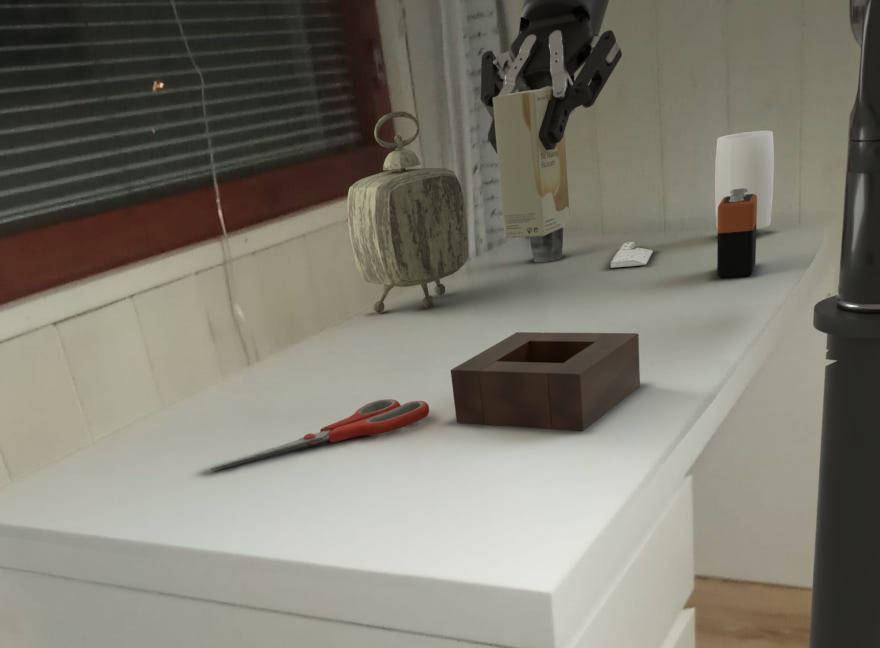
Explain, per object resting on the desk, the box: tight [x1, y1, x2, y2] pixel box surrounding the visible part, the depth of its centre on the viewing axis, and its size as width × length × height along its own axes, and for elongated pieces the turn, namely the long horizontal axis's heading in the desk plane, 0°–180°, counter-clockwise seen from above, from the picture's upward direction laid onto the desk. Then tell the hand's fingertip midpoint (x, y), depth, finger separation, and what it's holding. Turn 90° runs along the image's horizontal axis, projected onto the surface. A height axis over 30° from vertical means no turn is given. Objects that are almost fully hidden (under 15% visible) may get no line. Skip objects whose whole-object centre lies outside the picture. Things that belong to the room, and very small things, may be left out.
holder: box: [450, 331, 641, 432], centre depth 92 cm, size 13×13×5 cm
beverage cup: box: [529, 227, 564, 263], centre depth 155 cm, size 7×7×20 cm
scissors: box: [210, 398, 430, 471], centre depth 92 cm, size 8×21×2 cm, turn 126°
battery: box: [716, 188, 757, 279], centre depth 129 cm, size 4×7×10 cm, turn 159°
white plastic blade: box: [610, 241, 654, 269], centre depth 150 cm, size 5×15×1 cm, turn 161°
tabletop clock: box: [346, 111, 469, 314], centre depth 135 cm, size 14×9×25 cm, turn 123°
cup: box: [714, 130, 775, 231], centre depth 150 cm, size 8×8×14 cm
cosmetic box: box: [493, 87, 571, 239], centre depth 93 cm, size 6×4×12 cm
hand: (521, 145), depth 90 cm, fingers closed on cosmetic box, 4 cm apart
